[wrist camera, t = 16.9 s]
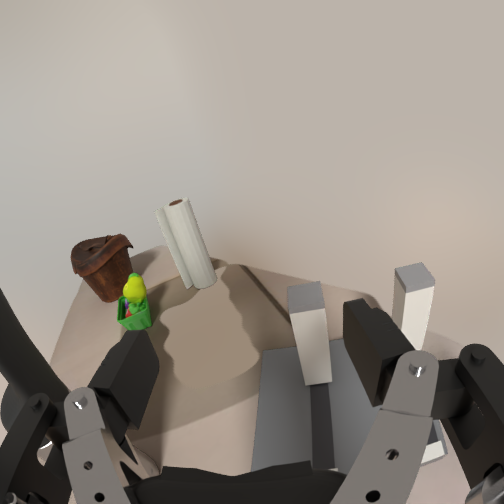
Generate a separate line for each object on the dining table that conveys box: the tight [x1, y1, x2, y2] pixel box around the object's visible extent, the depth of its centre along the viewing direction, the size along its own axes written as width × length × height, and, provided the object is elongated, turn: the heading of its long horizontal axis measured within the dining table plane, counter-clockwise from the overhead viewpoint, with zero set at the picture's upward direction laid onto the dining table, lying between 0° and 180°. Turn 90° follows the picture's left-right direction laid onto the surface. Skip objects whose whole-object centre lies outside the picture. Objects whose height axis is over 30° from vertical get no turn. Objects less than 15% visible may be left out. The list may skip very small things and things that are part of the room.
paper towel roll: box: [155, 198, 217, 289], centre depth 62 cm, size 7×6×21 cm
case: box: [71, 234, 133, 302], centre depth 71 cm, size 18×20×18 cm
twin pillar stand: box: [251, 262, 448, 475], centre depth 25 cm, size 22×22×16 cm
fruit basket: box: [117, 273, 152, 330], centre depth 56 cm, size 11×9×11 cm
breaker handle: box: [287, 281, 332, 386], centre depth 30 cm, size 4×4×14 cm
